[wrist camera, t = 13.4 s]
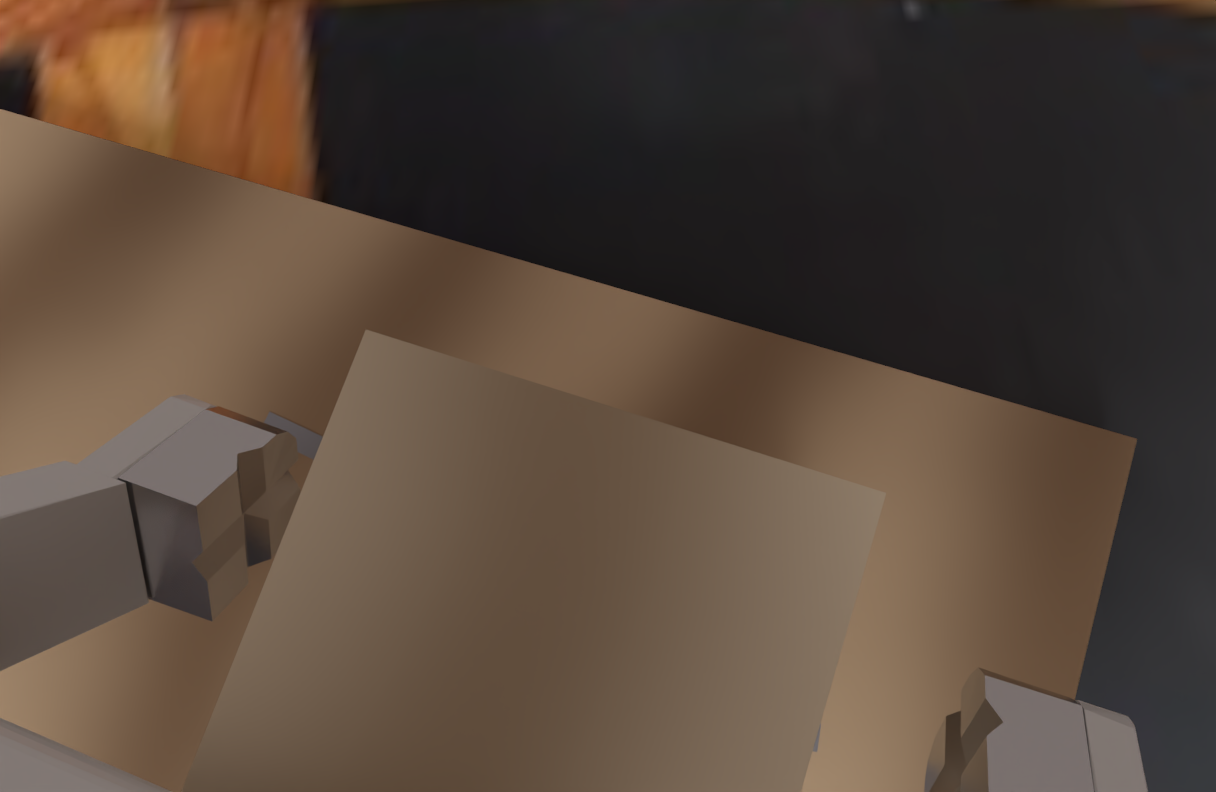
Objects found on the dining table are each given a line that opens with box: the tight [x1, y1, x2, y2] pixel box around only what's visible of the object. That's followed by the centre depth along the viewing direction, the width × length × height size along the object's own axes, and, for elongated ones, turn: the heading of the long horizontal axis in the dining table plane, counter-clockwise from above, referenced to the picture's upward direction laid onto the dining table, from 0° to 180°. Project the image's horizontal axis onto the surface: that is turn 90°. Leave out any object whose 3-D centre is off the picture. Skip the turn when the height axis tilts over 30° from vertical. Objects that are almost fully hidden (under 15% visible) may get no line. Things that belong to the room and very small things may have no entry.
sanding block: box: [181, 330, 886, 792], centre depth 11 cm, size 4×4×8 cm
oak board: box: [0, 109, 1137, 792], centre depth 17 cm, size 26×11×1 cm, turn 71°
